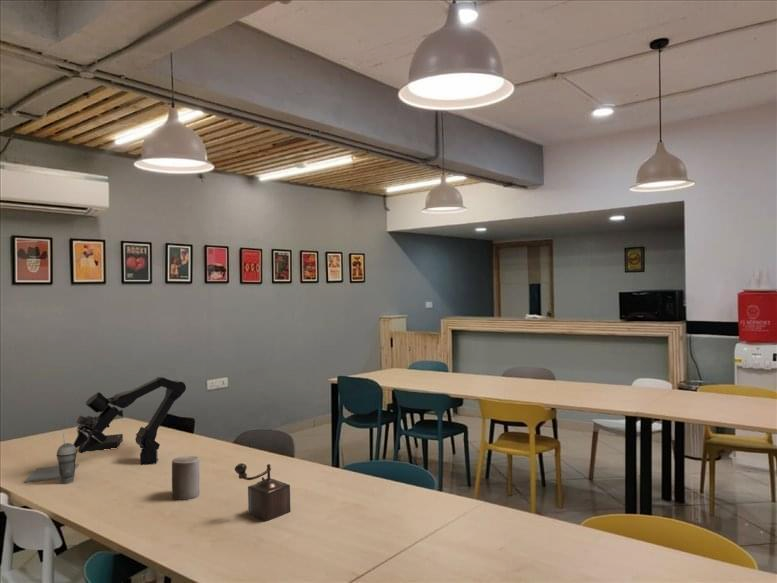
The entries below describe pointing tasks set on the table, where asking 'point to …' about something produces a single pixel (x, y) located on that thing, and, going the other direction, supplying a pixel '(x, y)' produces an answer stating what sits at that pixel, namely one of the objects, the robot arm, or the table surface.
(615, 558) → the table surface
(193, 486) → the pillar candle
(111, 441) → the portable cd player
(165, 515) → the table surface
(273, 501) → the manual coffee grinder
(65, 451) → the beverage cup
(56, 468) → the rubber mat
